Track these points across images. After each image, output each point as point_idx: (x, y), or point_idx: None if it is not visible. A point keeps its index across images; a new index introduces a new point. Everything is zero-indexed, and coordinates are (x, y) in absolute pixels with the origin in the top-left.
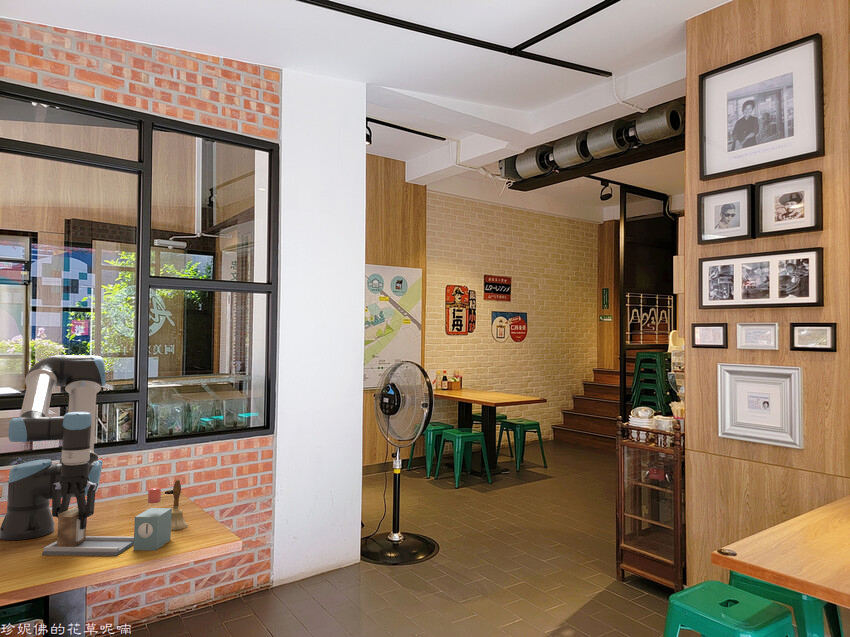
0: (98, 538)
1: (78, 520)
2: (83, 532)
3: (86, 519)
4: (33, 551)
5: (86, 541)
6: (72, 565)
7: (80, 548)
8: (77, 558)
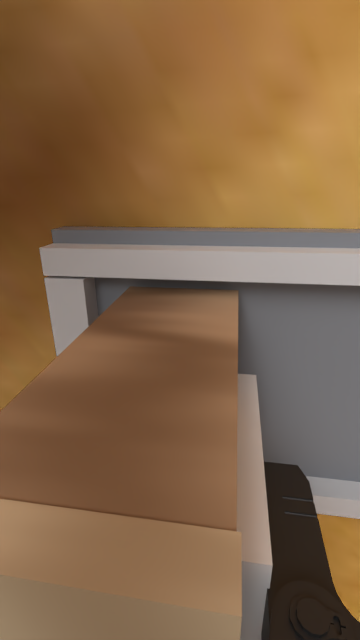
0: (355, 281)
1: (250, 633)
2: (257, 405)
3: (328, 574)
4: (3, 402)
5: (254, 302)
6: (343, 596)
7: (320, 511)
8: (322, 521)
